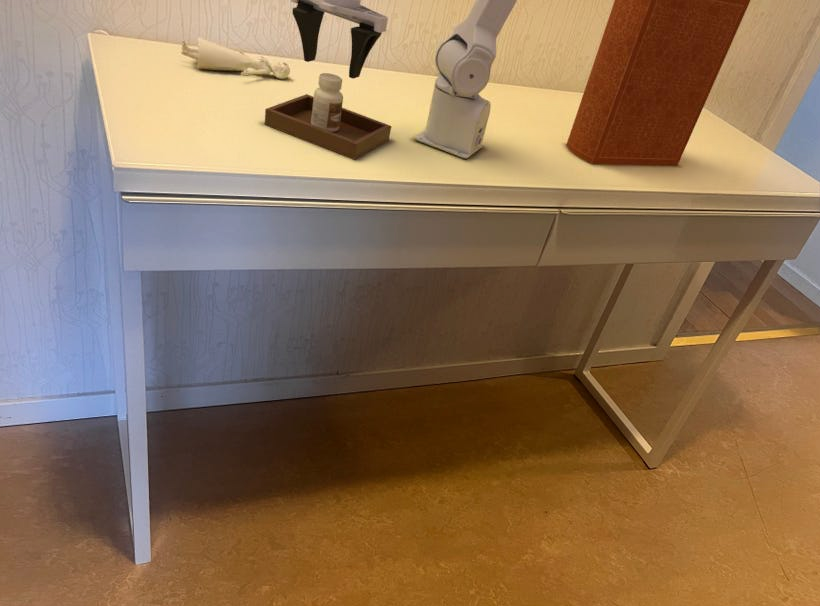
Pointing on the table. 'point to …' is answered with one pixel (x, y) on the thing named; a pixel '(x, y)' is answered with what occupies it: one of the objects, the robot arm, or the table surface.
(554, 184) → the table surface
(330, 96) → the pill bottle
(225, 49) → the woman figurine
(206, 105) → the table surface
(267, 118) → the tray
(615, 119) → the book
